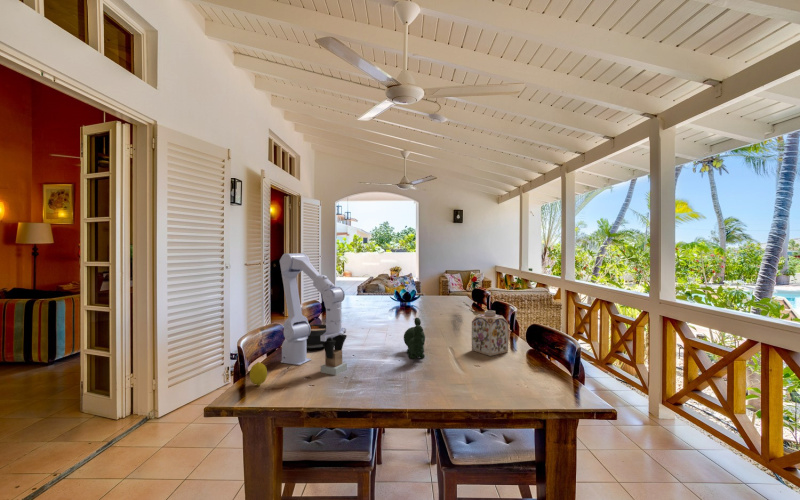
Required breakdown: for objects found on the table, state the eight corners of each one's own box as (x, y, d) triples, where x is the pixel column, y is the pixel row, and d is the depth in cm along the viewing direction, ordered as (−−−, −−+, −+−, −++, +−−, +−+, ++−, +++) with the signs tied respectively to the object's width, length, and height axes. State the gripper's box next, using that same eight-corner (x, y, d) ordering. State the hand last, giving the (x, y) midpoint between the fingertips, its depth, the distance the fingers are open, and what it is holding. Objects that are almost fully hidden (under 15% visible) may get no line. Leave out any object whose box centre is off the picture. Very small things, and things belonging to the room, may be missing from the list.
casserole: (303, 338, 197) (303, 321, 197) (340, 338, 197) (340, 322, 197) (287, 352, 172) (287, 333, 172) (329, 352, 172) (329, 333, 172)
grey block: (320, 374, 145) (320, 366, 145) (331, 368, 151) (331, 360, 151) (336, 376, 142) (335, 368, 142) (346, 371, 148) (346, 363, 148)
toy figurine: (430, 367, 156) (422, 345, 180) (430, 321, 154) (423, 305, 178) (406, 368, 155) (402, 346, 180) (406, 321, 153) (402, 306, 178)
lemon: (250, 389, 128) (250, 365, 127) (248, 384, 132) (248, 361, 132) (268, 387, 130) (268, 363, 130) (265, 381, 135) (265, 358, 135)
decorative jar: (509, 352, 171) (509, 311, 171) (490, 356, 165) (490, 314, 165) (488, 346, 181) (488, 308, 181) (470, 350, 175) (470, 310, 174)
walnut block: (325, 365, 145) (325, 352, 145) (332, 362, 149) (332, 349, 149) (335, 367, 143) (335, 353, 143) (342, 363, 147) (342, 350, 147)
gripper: (332, 324, 138) (332, 362, 138) (352, 317, 151) (352, 352, 151) (315, 323, 141) (315, 360, 141) (337, 316, 154) (337, 350, 154)
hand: (333, 356), depth 146 cm, fingers open, 5 cm apart
